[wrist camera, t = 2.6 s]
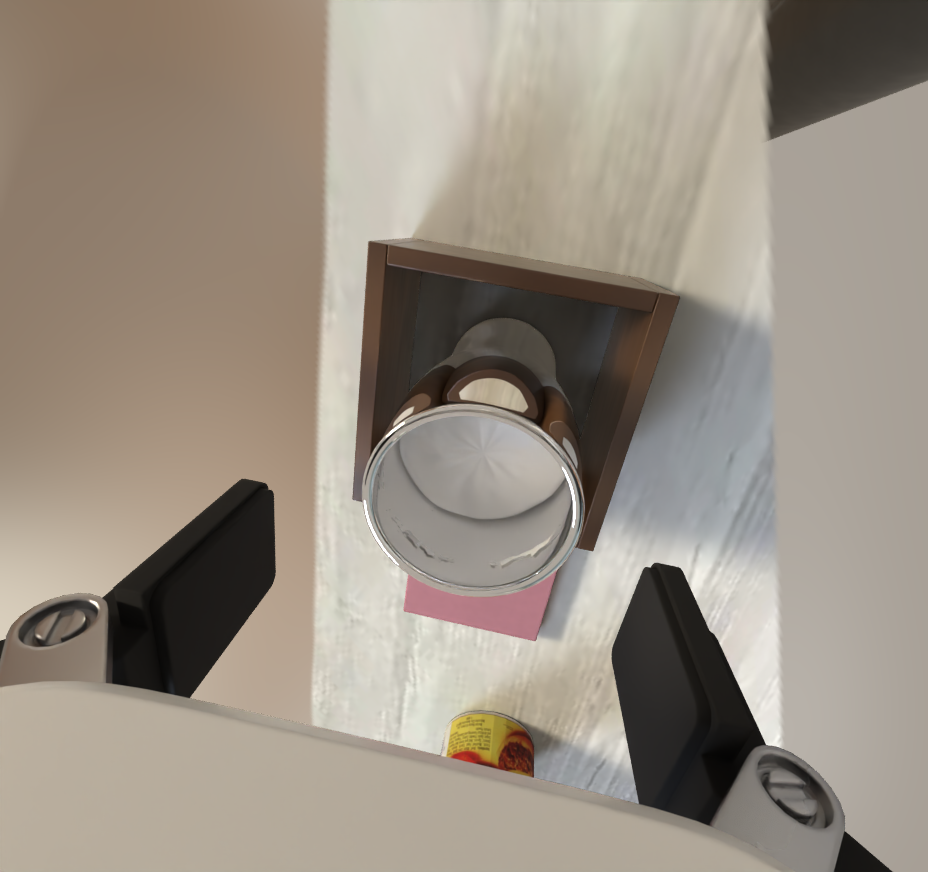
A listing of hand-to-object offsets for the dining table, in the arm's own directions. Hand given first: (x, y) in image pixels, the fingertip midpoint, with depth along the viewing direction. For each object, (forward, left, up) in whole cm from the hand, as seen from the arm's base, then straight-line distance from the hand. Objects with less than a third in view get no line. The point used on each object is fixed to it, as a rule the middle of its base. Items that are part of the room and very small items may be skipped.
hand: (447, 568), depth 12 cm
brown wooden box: (0, 0, -17) cm, 17 cm away
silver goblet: (0, 0, -18) cm, 18 cm away
